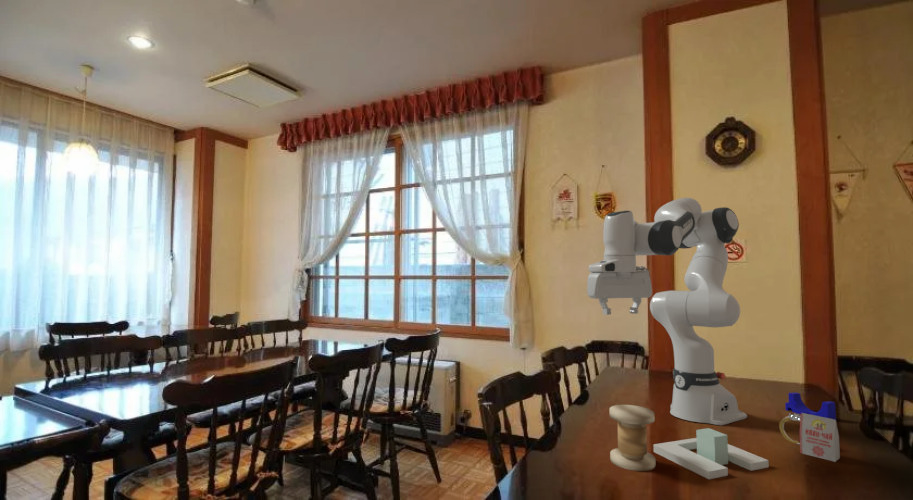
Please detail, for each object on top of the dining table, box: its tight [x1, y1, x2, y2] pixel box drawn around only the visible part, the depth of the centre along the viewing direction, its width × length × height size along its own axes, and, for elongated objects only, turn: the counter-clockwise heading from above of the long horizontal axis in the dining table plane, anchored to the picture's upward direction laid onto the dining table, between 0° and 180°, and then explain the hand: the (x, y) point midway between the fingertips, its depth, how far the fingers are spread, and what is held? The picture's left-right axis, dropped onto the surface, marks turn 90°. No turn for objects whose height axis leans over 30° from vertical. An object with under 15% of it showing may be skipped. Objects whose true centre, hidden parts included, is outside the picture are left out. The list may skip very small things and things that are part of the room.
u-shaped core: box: [653, 437, 770, 480], centre depth 105 cm, size 18×16×2 cm
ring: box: [778, 412, 801, 445], centre depth 115 cm, size 7×3×8 cm, turn 28°
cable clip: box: [784, 392, 837, 421], centre depth 138 cm, size 12×4×6 cm, turn 14°
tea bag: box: [798, 413, 841, 463], centre depth 107 cm, size 4×7×10 cm, turn 37°
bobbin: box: [609, 404, 657, 472], centre depth 105 cm, size 10×10×12 cm
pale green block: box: [695, 427, 729, 466], centre depth 105 cm, size 4×5×7 cm
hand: (620, 314), depth 127 cm, fingers open, 8 cm apart
